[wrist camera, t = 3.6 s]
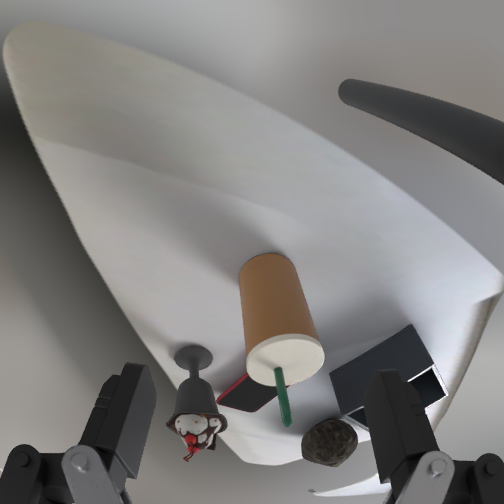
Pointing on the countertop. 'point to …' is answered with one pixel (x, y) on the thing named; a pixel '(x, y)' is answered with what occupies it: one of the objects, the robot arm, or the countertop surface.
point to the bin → (388, 357)
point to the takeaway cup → (277, 327)
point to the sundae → (196, 404)
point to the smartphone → (247, 395)
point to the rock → (329, 443)
